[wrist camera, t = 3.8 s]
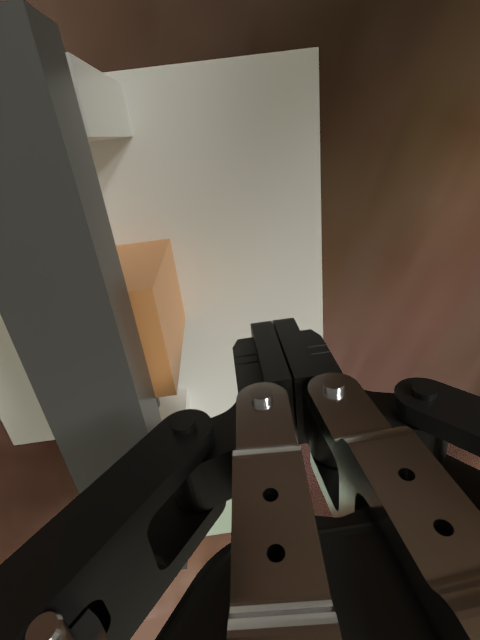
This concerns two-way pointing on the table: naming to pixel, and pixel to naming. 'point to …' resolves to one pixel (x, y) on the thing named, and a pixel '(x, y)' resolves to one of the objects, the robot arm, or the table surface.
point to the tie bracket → (205, 206)
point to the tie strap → (63, 259)
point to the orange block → (156, 309)
